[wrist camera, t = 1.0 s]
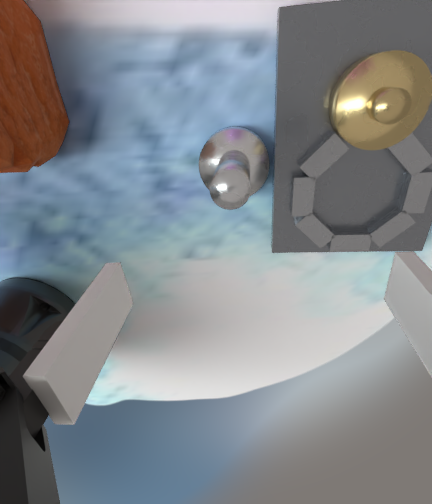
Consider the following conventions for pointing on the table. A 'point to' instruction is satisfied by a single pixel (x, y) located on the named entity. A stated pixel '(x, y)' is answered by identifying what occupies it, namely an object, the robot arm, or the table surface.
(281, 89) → the carrier plate
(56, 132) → the bread
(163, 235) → the table surface
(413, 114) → the gold cymbal
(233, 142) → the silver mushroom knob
